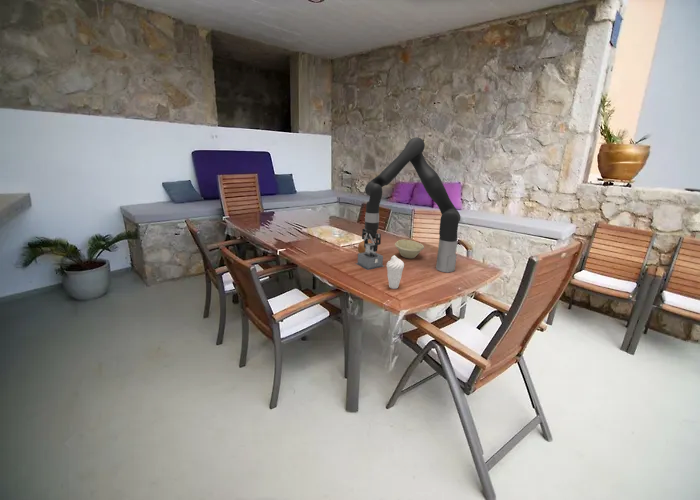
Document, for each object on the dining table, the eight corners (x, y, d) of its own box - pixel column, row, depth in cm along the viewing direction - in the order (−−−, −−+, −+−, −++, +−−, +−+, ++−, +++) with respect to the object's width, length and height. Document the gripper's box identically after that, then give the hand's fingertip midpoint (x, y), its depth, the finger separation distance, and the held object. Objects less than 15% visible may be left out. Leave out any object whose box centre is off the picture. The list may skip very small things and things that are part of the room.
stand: (384, 267, 177) (385, 253, 175) (367, 271, 171) (368, 257, 169) (372, 261, 187) (372, 248, 185) (355, 265, 181) (355, 251, 178)
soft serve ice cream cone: (400, 283, 156) (403, 252, 152) (404, 290, 148) (406, 258, 144) (383, 283, 156) (385, 252, 151) (386, 290, 148) (388, 258, 143)
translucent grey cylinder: (375, 265, 178) (376, 244, 175) (369, 266, 176) (369, 245, 172) (370, 263, 182) (371, 242, 178) (364, 264, 179) (365, 243, 176)
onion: (368, 259, 191) (369, 243, 188) (354, 256, 196) (354, 240, 193) (376, 255, 199) (377, 240, 196) (362, 252, 204) (363, 237, 201)
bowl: (405, 259, 207) (424, 246, 204) (407, 266, 190) (428, 252, 187) (392, 242, 206) (411, 228, 203) (393, 247, 188) (414, 233, 185)
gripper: (385, 222, 168) (383, 252, 173) (369, 217, 179) (368, 245, 184) (374, 224, 164) (372, 253, 169) (358, 218, 175) (357, 247, 180)
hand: (370, 249), depth 176 cm, fingers open, 8 cm apart
